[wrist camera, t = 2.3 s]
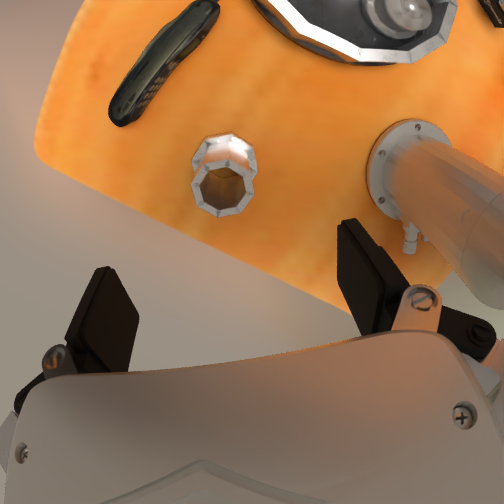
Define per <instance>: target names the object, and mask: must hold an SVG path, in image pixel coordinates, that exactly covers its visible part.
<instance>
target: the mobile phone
mask: <svg viewBox="0 0 504 504" xmlns="http://www.w3.org/2000/svg"><path fill="white" fill-rule="evenodd" d="M217 1H218V0H196V1H194V2H192V3H191V4H190V5H189V6H188V7H187V8H186V9H185V10H184V11H183V12H182V13H181V14H180V15H179V16H177V17H176V18H175V19H174V20H172V21H171V22H169V23H168V24H166V25H165V26H164V27H163V28H162V29H161V30H160V31H159V32H158V33H157V35H156V36H155V37H154V38H153V40H152V41H151V42H150V43H149V44H148V45H147V47H146V48H145V49H144V51H143V52H142V54H141V56H140V57H139V59H138V60H137V62H136V63H135V64H134V66H133V67H132V68H131V70H130V71H129V72H128V74H127V75H126V77H125V78H124V80H123V81H122V83H121V84H120V86H119V88H118V89H117V91H116V93H115V94H114V96H113V98H112V100H111V102H110V104H109V109H108V115H109V118H110V120H111V121H112V122H113V123H114V124H115V125H116V126H118V127H124V126H126V125H128V124H129V123H131V122H133V121H135V120H137V119H138V118H139V117H140V116H141V115H142V113H143V111H144V110H145V108H146V106H147V105H148V104H149V102H150V101H151V99H152V98H153V96H154V95H155V94H156V92H157V91H158V90H159V88H160V87H161V85H162V84H163V83H164V81H165V80H166V79H167V77H168V76H169V75H170V74H171V72H172V71H173V70H174V69H175V68H176V66H177V65H178V64H179V63H180V62H181V61H182V60H183V59H184V58H185V57H186V56H188V55H189V54H190V53H191V52H192V51H193V50H194V49H195V48H196V47H197V46H198V45H199V44H200V43H201V41H202V40H203V39H204V38H205V37H206V35H207V34H208V32H209V31H210V29H211V28H212V26H213V25H214V23H215V22H216V20H217V18H218V16H219V14H220V6H219V4H217V3H216V2H217Z"/></svg>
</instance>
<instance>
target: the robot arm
mask: <svg viewBox="0 0 504 504" xmlns="http://www.w3.org/2000/svg"><path fill="white" fill-rule="evenodd" d="M379 151H380V153H379ZM367 186H368V189H369V193H370V196H371V197H372V199H373V201H374V203H375V204H376V205H377V207H378V208H379V209H380V210H381V211H382V212H383V213H384V214H385V215H387V216H389V217H390V218H392V219H395V220H398V221H402V228H403V230H404V236H403V243H402V251H403V253H405V254H409V255H411V254H414V253H415V252H416V248H417V241H418V239H417V237H418V233H419V232H421V233H422V234H421V239H422V240H423V241H426V242H430V243H431V244H432V245H433V246H434V247H435V249H436V250H437V251H438V252H439V253H440V254H441V255H442V256H443V258H444V259H445V260H446V261H447V262H448V264H449V265H450V266H451V267H452V268H453V269H454V271H455V272H456V273H457V274H458V276H459V277H460V278H461V279H462V280H463V282H464V283H465V284H466V286H467V287H468V288H469V290H470V291H471V292H472V293H473V294H474V296H475V297H476V298H477V299H478V300H479V301H481V302H482V303H483V304H485V305H487V306H489V307H491V308H494V309H499V310H504V176H503V175H501V174H500V173H498V172H496V171H495V170H493V169H491V168H490V167H488V166H486V165H484V164H483V163H481V162H479V161H477V160H476V159H474V158H472V157H470V156H468V155H466V154H465V153H463V152H461V151H459V150H457V149H455V148H453V147H452V145H451V143H450V141H449V139H448V137H447V136H446V135H445V133H444V132H443V131H442V130H441V129H440V128H438V127H437V126H436V125H434V124H432V123H429V122H427V121H424V120H420V119H408V120H403V121H400V122H398V123H396V124H394V125H392V126H391V127H390V128H388V129H387V130H386V131H385V132H384V133H383V134H382V135H381V136H380V137H379V139H378V140H377V142H376V143H375V145H374V147H373V149H372V152H371V154H370V156H369V161H368V165H367ZM337 281H338V285H339V287H340V289H341V291H342V293H343V295H344V298H345V300H346V302H347V304H348V306H349V308H350V311H351V313H352V315H353V317H354V319H355V322H356V324H357V326H358V329H359V331H360V333H361V335H362V336H360V337H356V338H352V339H347V340H343V341H338V342H334V343H329V344H325V345H320V346H316V347H311V348H306V349H301V350H296V351H291V352H286V353H281V354H275V355H270V356H264V357H258V358H252V359H245V360H239V361H233V362H226V363H218V364H210V365H202V366H193V367H183V368H174V369H161V370H150V371H133V372H128V368H129V363H130V359H131V354H132V349H133V345H134V340H135V336H136V332H137V328H138V324H139V314H138V312H137V310H136V308H135V306H134V305H133V303H132V301H131V299H130V298H129V296H128V294H127V292H126V290H125V288H124V287H123V285H122V283H121V281H120V279H119V277H118V275H117V273H116V271H115V270H114V269H111V268H110V267H109V266H106V267H101V268H97V269H96V270H95V272H94V274H93V276H92V278H91V280H90V282H89V284H88V286H87V288H86V290H85V292H84V294H83V296H82V299H81V301H80V303H79V305H78V307H77V310H76V312H75V314H74V316H73V319H72V321H71V323H70V326H69V328H68V330H67V333H66V335H65V338H64V339H65V340H66V341H67V345H66V346H65V345H63V344H58V345H55V346H53V347H51V348H50V349H49V350H48V351H47V352H46V354H45V355H44V357H43V359H42V369H43V372H42V373H41V374H40V375H38V376H37V377H36V378H35V379H34V380H32V381H31V382H30V383H29V384H28V385H27V386H25V388H23V389H22V390H21V391H20V392H19V393H18V394H17V395H16V398H15V401H14V410H15V412H13V411H11V412H10V414H9V415H8V417H7V418H6V420H5V421H4V423H3V424H2V426H1V427H0V464H1V466H2V468H3V469H4V471H5V472H6V474H7V475H6V483H5V498H4V504H504V339H503V338H502V339H501V341H500V340H498V339H497V338H496V332H495V330H494V328H493V327H492V325H491V324H490V323H488V322H487V321H485V320H483V319H480V318H477V317H475V316H472V315H469V314H465V313H463V312H460V311H457V310H454V309H451V308H448V307H445V306H443V305H442V299H441V296H440V294H439V293H438V292H437V291H436V290H435V289H433V288H432V287H430V286H427V285H422V284H417V285H412V286H410V284H409V283H408V281H407V280H406V279H405V277H404V276H403V274H402V273H401V272H400V270H399V269H398V267H397V266H396V265H395V263H394V262H393V261H392V259H391V258H390V257H389V255H388V254H387V253H386V251H385V250H384V249H383V248H382V247H381V246H377V244H376V243H375V242H374V240H373V239H372V238H371V237H370V235H369V234H368V233H367V231H366V230H365V229H364V228H363V226H362V225H361V224H360V223H359V221H358V220H357V219H356V218H353V219H347V220H342V222H341V224H340V225H338V226H337Z"/></svg>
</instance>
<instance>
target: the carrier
mask: <svg viewBox="0 0 504 504" xmlns="http://www.w3.org/2000/svg"><path fill="white" fill-rule="evenodd" d="M251 1H252V2H253V4H254V5H255V7H256V8H257V9H258V11H259V12H260V13H261V14H262V15H263V16H264V18H265V19H266V20H267V21H268V22H269V23H270V24H271V25H273V26H274V27H275V28H276V29H277V30H278V31H279V32H281V33H282V34H283V35H285V36H286V37H287V38H289V39H290V40H292V41H293V42H295V43H297V44H298V45H300V46H301V47H303V48H305V49H307V50H309V51H311V52H313V53H315V54H318V55H320V56H323V57H325V58H328V59H331V60H335V61H338V62H342V63H347V64H353V65H363V66H382V65H390V64H396V63H384V62H346V61H344V60H342V59H340V58H338V57H336V56H334V55H332V54H329V53H327V52H325V51H323V50H321V49H319V48H316V47H314V46H312V45H309V44H307V43H305V42H302V41H300V40H297V39H295V38H292V37H291V35H290V34H289V33H288V32H287V31H286V30H285V29H284V28H283V27H282V26H281V25H280V24H279V23H278V22H277V20H276V19H275V18H274V17H273V16H272V15H271V14H270V13H269V12H268V11H267V10H266V9H265V8H264V7H263V6H262V5H260V4H259V3H258V2H257V1H256V0H251ZM287 1H288V2H289V3H290V4H291V5H292V6H293V7H294V8H295V9H296V10H297V11H298V13H299V14H300V15H301V16H302V17H303V18H304V19H305V20H306V21H307V22H308V23H309V24H312V25H314V26H316V27H319V28H321V29H323V30H325V31H327V32H329V33H332V34H334V35H336V36H338V37H340V38H342V39H344V40H346V41H348V42H350V43H352V44H353V45H355V46H357V47H359V48H361V49H384V50H397V49H398V48H400V47H402V46H403V45H405V44H407V43H409V42H410V41H412V40H414V39H415V38H417V37H419V36H421V35H422V34H423V31H424V29H426V28H427V27H428V26H429V25H430V23H431V20H432V12H431V8H432V5H433V3H432V0H287Z"/></svg>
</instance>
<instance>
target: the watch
mask: <svg viewBox="0 0 504 504" xmlns="http://www.w3.org/2000/svg"><path fill="white" fill-rule="evenodd" d="M478 1H479V2H480V4H481V5H482V7H483V8H484V10H485V11H486V13H487V15H488V16H489V18H490V19H491V21H492V23H493V24H494V26H495V27H497V28H504V0H478Z"/></svg>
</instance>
